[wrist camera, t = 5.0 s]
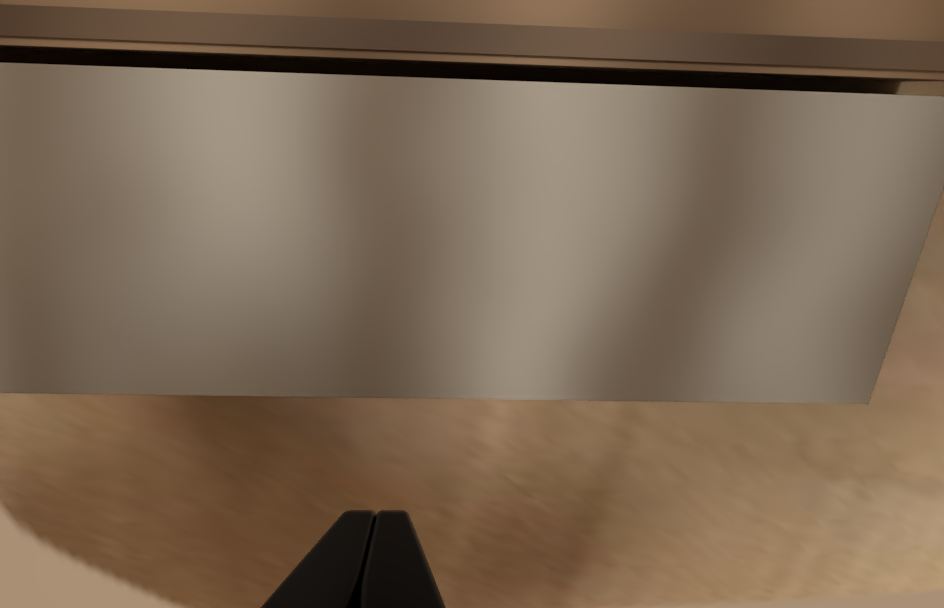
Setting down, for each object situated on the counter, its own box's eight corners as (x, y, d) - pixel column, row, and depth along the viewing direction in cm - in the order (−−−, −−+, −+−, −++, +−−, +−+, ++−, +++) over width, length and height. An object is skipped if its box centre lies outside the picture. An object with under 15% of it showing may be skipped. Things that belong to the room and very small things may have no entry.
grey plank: (898, 94, 13) (974, 97, 11) (819, 364, 15) (868, 404, 14) (-98, 58, 12) (-199, 55, 10) (-5, 352, 15) (-71, 391, 13)
